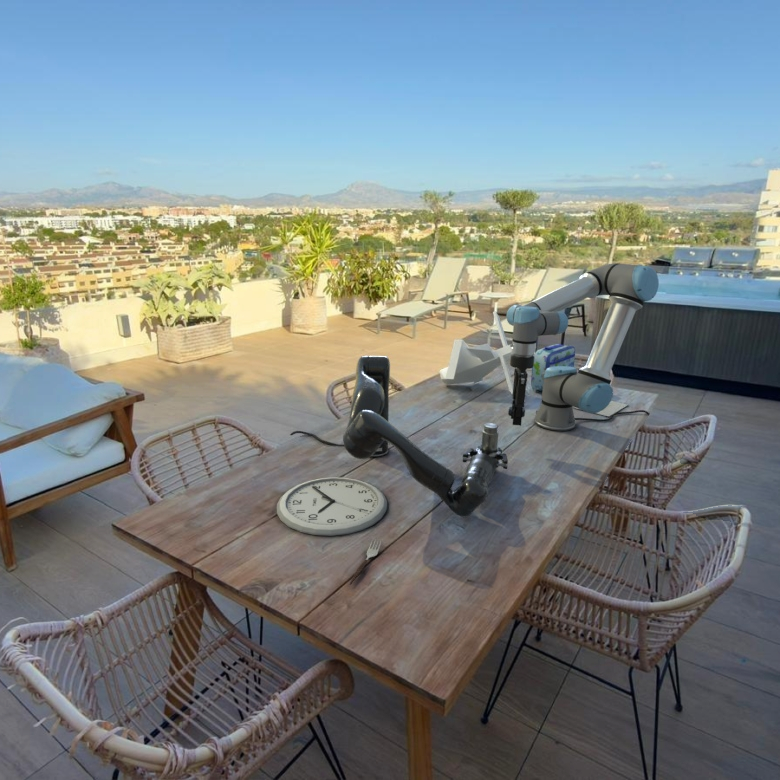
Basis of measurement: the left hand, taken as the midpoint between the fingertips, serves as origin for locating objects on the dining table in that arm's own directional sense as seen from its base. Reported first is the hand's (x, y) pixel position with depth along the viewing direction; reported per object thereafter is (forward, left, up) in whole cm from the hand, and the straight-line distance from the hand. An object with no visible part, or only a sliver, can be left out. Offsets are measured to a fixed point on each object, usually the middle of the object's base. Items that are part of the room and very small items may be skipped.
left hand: (490, 449), depth 165 cm
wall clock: (-36, -40, -6) cm, 54 cm away
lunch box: (+12, +98, -6) cm, 99 cm away
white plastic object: (-18, +78, -6) cm, 81 cm away
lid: (+5, +16, +9) cm, 19 cm away
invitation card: (+35, +79, -6) cm, 86 cm away
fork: (-17, -61, -6) cm, 64 cm away
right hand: (+5, +16, +4) cm, 18 cm away
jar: (0, -3, -6) cm, 7 cm away
